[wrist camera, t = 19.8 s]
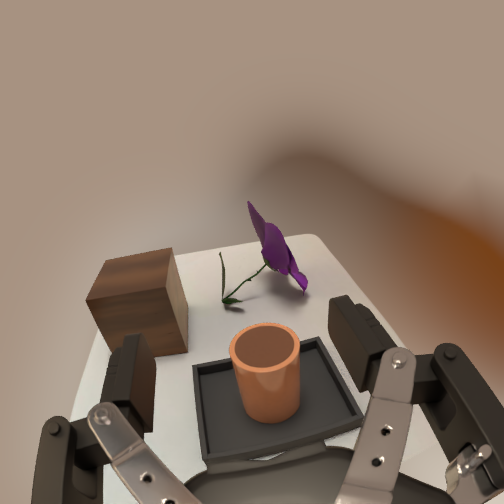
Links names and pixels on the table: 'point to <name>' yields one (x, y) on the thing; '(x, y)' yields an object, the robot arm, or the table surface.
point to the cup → (267, 371)
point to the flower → (269, 254)
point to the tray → (275, 434)
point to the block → (141, 302)
